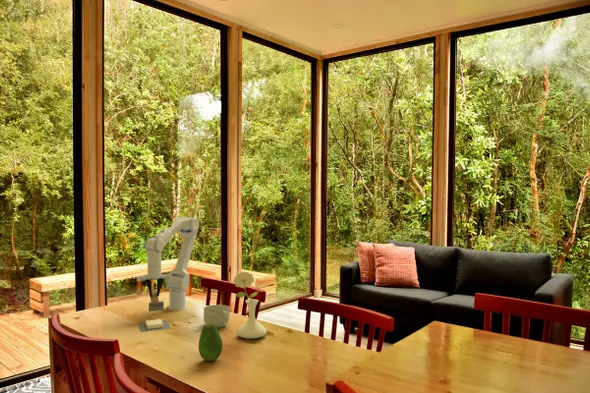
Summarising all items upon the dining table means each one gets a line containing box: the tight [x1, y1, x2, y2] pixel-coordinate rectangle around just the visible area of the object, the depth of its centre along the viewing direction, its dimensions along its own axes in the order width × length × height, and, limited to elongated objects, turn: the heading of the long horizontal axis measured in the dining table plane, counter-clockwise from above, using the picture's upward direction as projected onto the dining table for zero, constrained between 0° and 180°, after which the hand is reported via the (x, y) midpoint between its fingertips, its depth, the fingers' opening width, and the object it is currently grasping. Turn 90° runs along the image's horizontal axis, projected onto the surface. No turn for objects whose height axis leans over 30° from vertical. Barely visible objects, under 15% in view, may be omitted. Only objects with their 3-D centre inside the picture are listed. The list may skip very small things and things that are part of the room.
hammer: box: [148, 288, 165, 312], centre depth 202 cm, size 13×6×4 cm, turn 24°
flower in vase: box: [232, 271, 267, 340], centre depth 177 cm, size 13×11×25 cm
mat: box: [136, 319, 173, 333], centre depth 188 cm, size 13×12×1 cm
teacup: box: [203, 304, 231, 329], centre depth 189 cm, size 14×11×8 cm
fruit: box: [198, 324, 223, 362], centre depth 151 cm, size 8×8×12 cm
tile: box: [145, 318, 163, 329], centre depth 188 cm, size 2×6×7 cm
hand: (154, 296), depth 202 cm, fingers closed on hammer, 2 cm apart
